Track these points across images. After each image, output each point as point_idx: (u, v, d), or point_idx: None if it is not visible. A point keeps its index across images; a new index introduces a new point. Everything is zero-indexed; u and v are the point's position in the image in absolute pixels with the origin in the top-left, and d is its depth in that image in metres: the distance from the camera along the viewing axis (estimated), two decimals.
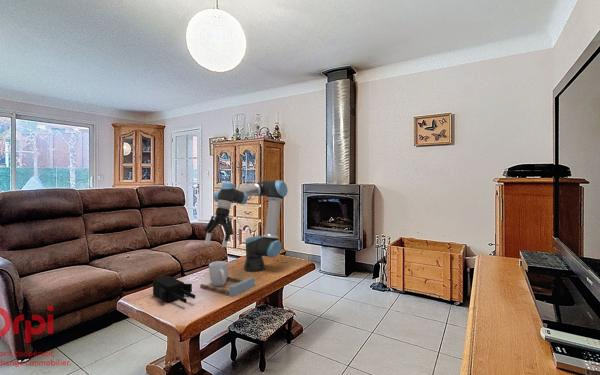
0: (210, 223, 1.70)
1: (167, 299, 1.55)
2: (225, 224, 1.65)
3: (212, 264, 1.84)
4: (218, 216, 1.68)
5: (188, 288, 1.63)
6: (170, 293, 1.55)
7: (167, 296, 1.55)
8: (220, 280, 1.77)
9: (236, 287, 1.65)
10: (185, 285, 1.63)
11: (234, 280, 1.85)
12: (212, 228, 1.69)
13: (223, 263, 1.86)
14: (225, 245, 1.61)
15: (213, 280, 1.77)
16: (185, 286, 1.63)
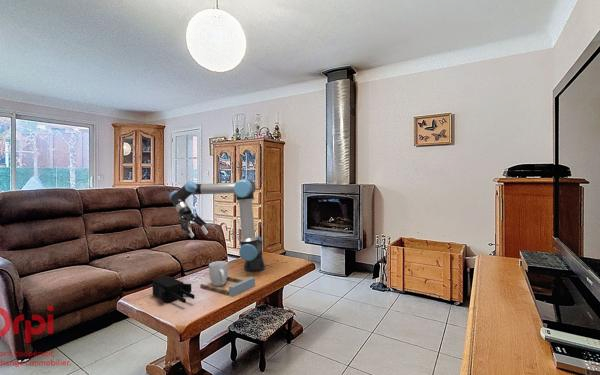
0: None
1: (166, 299, 1.55)
2: (185, 221, 1.91)
3: (212, 264, 1.84)
4: None
5: (188, 288, 1.63)
6: (169, 293, 1.55)
7: (166, 296, 1.55)
8: (220, 280, 1.77)
9: (236, 287, 1.65)
10: (185, 285, 1.63)
11: (234, 280, 1.85)
12: (198, 223, 1.97)
13: (223, 263, 1.86)
14: (192, 235, 1.85)
15: (213, 280, 1.77)
16: (185, 286, 1.63)
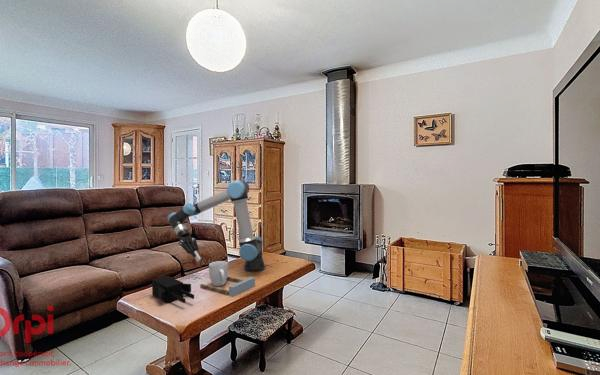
0: None
1: (166, 299, 1.55)
2: (186, 244, 1.93)
3: (212, 264, 1.84)
4: None
5: (187, 288, 1.63)
6: (169, 293, 1.55)
7: (166, 296, 1.55)
8: (220, 280, 1.77)
9: (236, 287, 1.65)
10: (184, 285, 1.63)
11: (234, 280, 1.85)
12: (192, 247, 1.94)
13: (223, 263, 1.86)
14: (197, 259, 1.90)
15: (213, 280, 1.77)
16: (184, 286, 1.63)
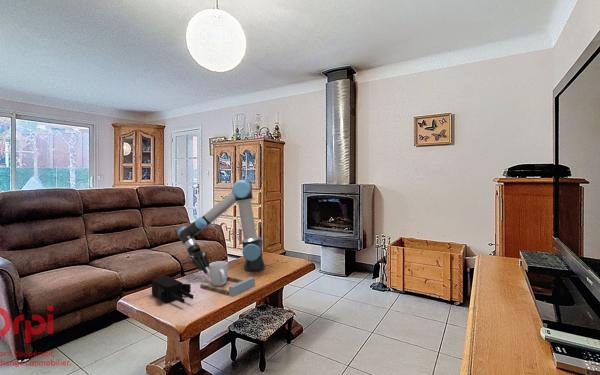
0: None
1: (165, 299, 1.55)
2: (197, 260, 1.87)
3: (212, 264, 1.84)
4: None
5: (187, 288, 1.62)
6: (168, 293, 1.55)
7: (165, 296, 1.55)
8: (220, 280, 1.77)
9: (236, 287, 1.65)
10: (184, 285, 1.63)
11: (234, 280, 1.85)
12: (203, 263, 1.89)
13: (223, 263, 1.86)
14: (209, 275, 1.84)
15: (213, 280, 1.77)
16: (184, 286, 1.63)
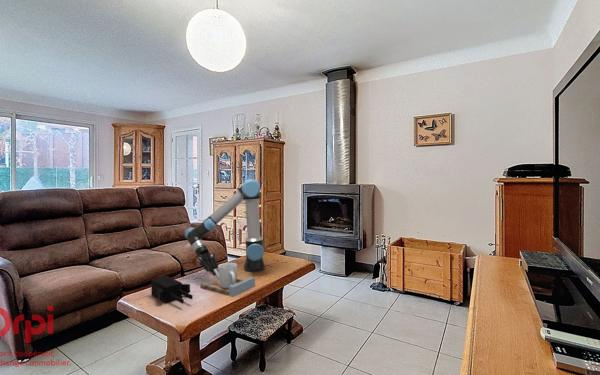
0: None
1: (165, 299, 1.55)
2: (205, 262, 1.83)
3: (221, 266, 1.79)
4: None
5: (186, 288, 1.62)
6: (168, 293, 1.55)
7: (165, 296, 1.55)
8: (230, 282, 1.73)
9: (236, 287, 1.65)
10: (183, 285, 1.63)
11: None
12: (211, 264, 1.84)
13: (232, 265, 1.82)
14: (217, 277, 1.79)
15: (223, 282, 1.73)
16: (183, 286, 1.63)
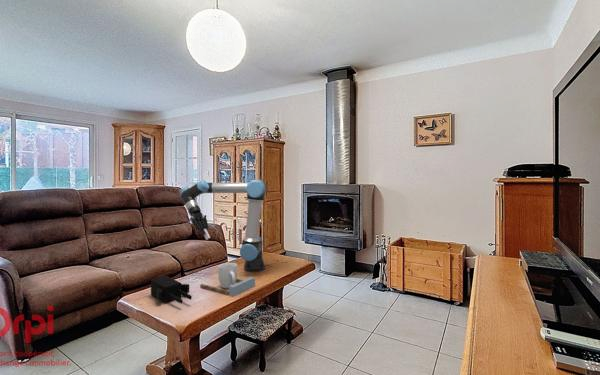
0: None
1: (164, 299, 1.55)
2: (197, 221, 1.93)
3: (221, 266, 1.79)
4: None
5: (185, 289, 1.62)
6: (167, 293, 1.55)
7: (164, 296, 1.55)
8: (230, 282, 1.73)
9: (236, 287, 1.65)
10: (182, 285, 1.63)
11: None
12: (202, 224, 1.95)
13: (232, 265, 1.82)
14: (207, 237, 1.91)
15: (223, 282, 1.73)
16: (182, 286, 1.63)
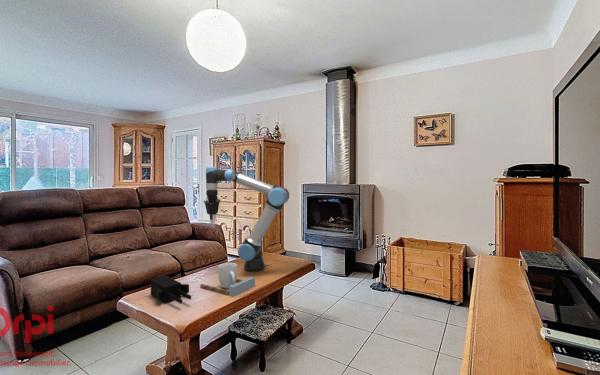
0: None
1: (164, 299, 1.55)
2: (210, 205, 2.00)
3: (221, 266, 1.79)
4: None
5: (185, 289, 1.62)
6: (167, 293, 1.55)
7: (163, 296, 1.55)
8: (230, 282, 1.73)
9: (236, 287, 1.65)
10: (182, 286, 1.63)
11: None
12: None
13: (232, 265, 1.82)
14: (212, 223, 2.01)
15: (223, 282, 1.73)
16: (182, 287, 1.63)
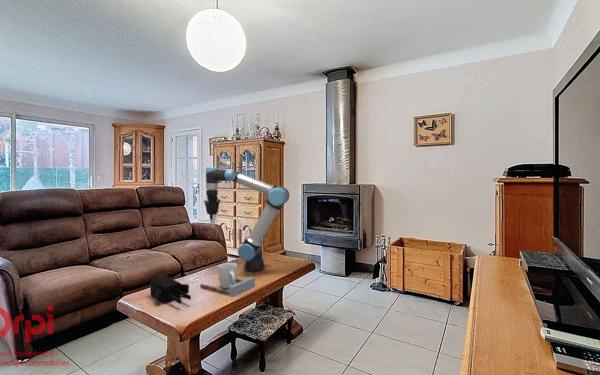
0: None
1: (163, 299, 1.55)
2: (210, 204, 2.00)
3: (221, 266, 1.79)
4: None
5: (185, 289, 1.62)
6: (166, 294, 1.55)
7: (163, 297, 1.55)
8: (230, 282, 1.73)
9: (236, 287, 1.65)
10: (182, 286, 1.62)
11: None
12: None
13: (232, 265, 1.82)
14: (212, 223, 2.01)
15: (223, 282, 1.73)
16: (182, 287, 1.62)
